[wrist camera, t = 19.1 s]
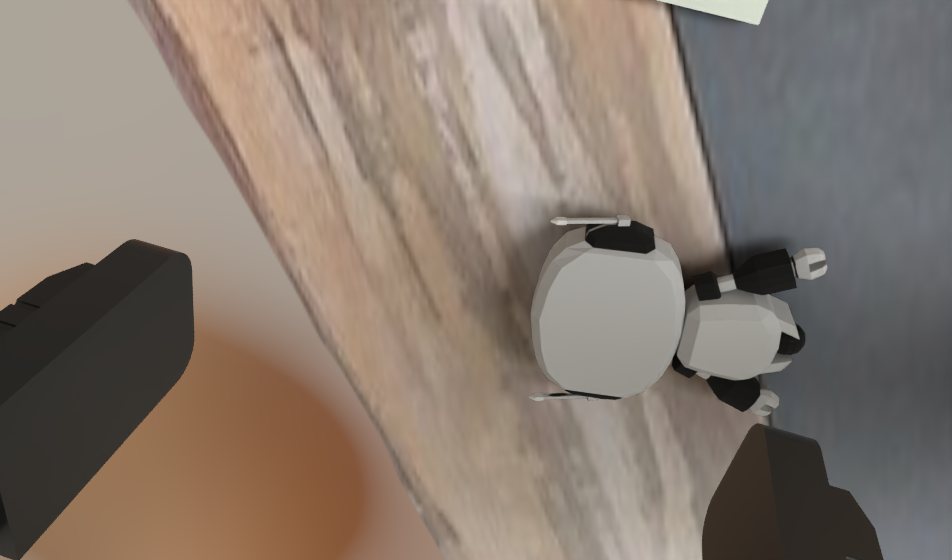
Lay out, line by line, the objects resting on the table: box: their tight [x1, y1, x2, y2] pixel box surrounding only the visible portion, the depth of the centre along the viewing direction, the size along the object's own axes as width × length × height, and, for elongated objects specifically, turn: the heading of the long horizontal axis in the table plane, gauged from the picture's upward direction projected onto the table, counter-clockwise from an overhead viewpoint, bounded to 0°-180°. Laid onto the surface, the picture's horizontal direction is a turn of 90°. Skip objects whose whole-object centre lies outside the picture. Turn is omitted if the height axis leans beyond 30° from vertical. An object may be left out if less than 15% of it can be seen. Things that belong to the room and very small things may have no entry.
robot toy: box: [529, 215, 827, 417], centre depth 42 cm, size 12×4×15 cm
